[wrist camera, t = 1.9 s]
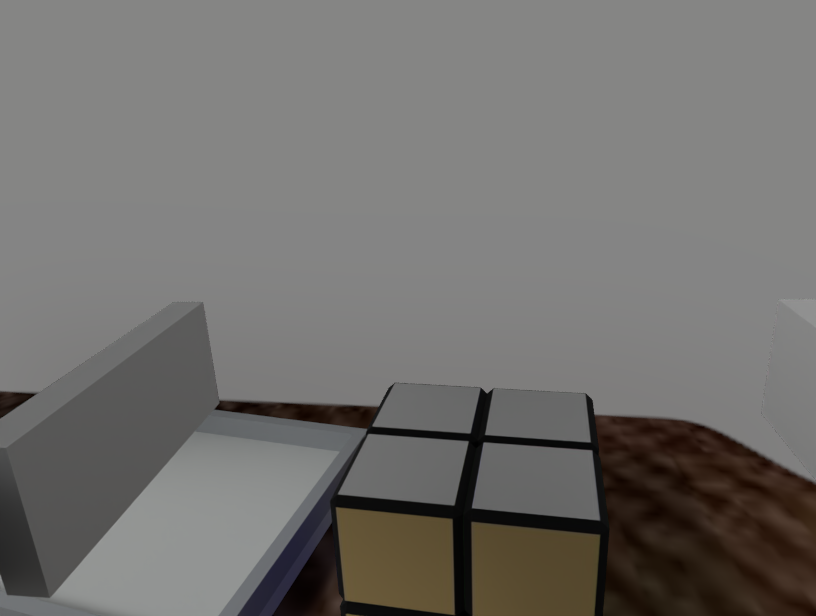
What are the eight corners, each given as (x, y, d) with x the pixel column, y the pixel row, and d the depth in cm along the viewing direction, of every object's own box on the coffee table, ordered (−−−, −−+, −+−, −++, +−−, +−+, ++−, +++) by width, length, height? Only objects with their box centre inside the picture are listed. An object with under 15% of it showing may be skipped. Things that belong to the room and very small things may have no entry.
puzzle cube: (398, 539, 36) (389, 379, 32) (582, 559, 34) (592, 390, 30) (346, 700, 26) (325, 499, 23) (595, 741, 24) (612, 526, 21)
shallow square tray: (-105, 614, 32) (-121, 574, 31) (144, 429, 48) (138, 400, 48) (213, 706, 26) (204, 661, 25) (370, 461, 43) (368, 429, 42)
